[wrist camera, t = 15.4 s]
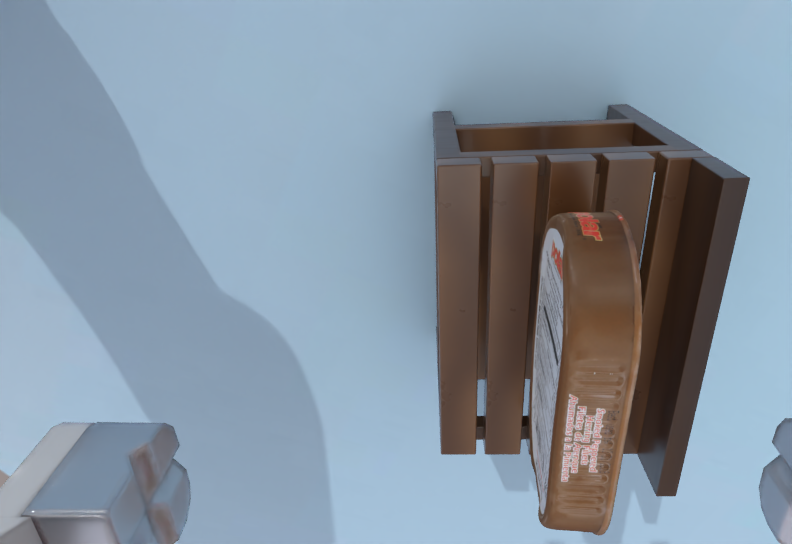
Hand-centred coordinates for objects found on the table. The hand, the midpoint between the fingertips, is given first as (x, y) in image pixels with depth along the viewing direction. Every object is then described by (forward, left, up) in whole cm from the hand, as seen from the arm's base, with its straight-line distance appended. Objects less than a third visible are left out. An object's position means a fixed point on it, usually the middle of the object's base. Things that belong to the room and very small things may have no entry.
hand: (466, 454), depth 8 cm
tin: (+6, -10, -19) cm, 22 cm away
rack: (+6, -10, -31) cm, 33 cm away
